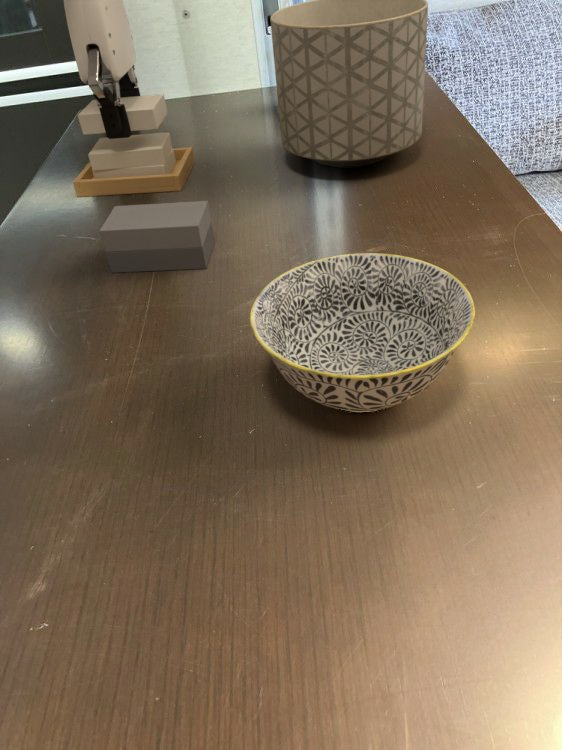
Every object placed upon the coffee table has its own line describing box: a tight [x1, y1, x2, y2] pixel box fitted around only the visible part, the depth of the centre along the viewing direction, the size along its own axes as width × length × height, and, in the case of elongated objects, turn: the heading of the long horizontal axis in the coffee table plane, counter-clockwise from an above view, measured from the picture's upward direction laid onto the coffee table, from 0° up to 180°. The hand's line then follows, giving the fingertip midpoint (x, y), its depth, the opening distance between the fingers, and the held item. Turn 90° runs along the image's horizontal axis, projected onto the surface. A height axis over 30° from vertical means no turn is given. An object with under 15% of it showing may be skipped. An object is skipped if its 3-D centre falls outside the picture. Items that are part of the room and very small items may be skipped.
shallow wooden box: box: [72, 146, 196, 198], centre depth 87 cm, size 15×11×2 cm
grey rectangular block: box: [98, 200, 216, 274], centre depth 67 cm, size 10×6×5 cm, turn 86°
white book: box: [77, 93, 168, 136], centre depth 83 cm, size 10×6×2 cm, turn 86°
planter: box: [269, 0, 429, 169], centre depth 81 cm, size 19×19×18 cm
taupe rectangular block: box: [87, 131, 176, 179], centre depth 86 cm, size 10×7×4 cm
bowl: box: [249, 252, 476, 411], centre depth 47 cm, size 16×16×8 cm
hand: (126, 126), depth 84 cm, fingers closed on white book, 6 cm apart
